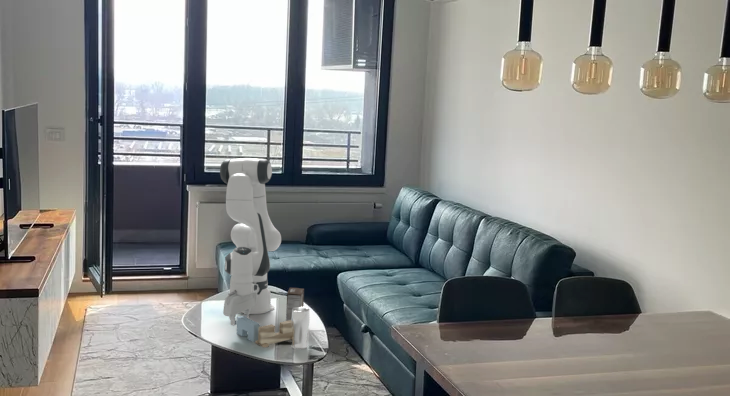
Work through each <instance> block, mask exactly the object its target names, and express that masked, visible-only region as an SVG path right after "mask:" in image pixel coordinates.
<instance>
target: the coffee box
mask: <svg viewBox="0 0 730 396" xmlns="http://www.w3.org/2000/svg"><path fill="white" fill-rule="evenodd" d="M304 302H305V288H299V287H289V288H288V291H287V293H286V311H285V312H286V313H285V315H286V316H285V321H289V320H291V318H292V309H293V308H295V307H305V305H304Z"/></svg>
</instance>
